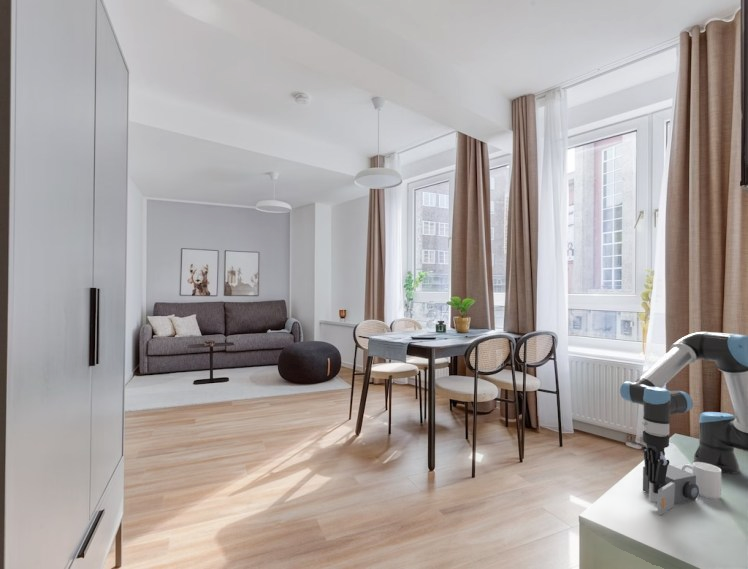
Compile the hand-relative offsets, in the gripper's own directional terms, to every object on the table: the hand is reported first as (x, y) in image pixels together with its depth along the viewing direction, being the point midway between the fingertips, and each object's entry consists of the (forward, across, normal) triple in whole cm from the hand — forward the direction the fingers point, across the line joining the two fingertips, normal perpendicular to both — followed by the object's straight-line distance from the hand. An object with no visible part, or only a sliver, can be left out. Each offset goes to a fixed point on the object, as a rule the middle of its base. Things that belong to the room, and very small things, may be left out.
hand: (654, 500), depth 138 cm
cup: (+3, -17, +24) cm, 30 cm away
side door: (+2, +1, +4) cm, 4 cm away
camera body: (+2, -10, +11) cm, 15 cm away
